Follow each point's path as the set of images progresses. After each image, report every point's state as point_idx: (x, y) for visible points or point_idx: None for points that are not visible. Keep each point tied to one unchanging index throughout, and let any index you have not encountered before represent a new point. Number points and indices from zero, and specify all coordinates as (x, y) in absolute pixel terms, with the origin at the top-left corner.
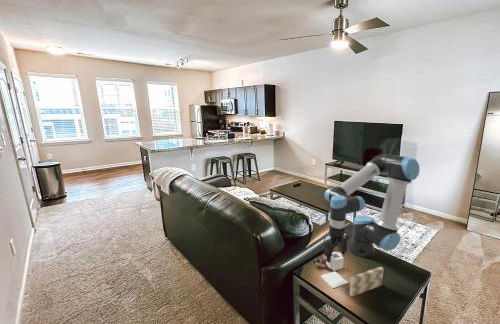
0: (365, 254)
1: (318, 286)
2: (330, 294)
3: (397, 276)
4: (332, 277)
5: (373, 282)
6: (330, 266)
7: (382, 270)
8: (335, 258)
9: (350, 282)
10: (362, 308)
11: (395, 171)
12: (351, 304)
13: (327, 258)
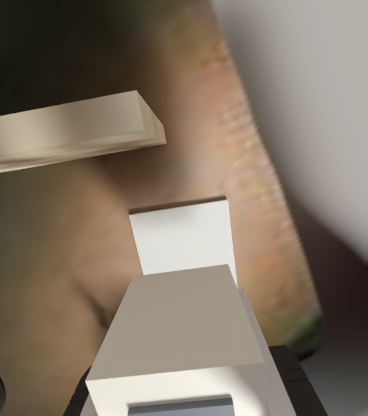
0: None
1: (286, 228)
2: (261, 166)
3: None
4: (186, 264)
5: None
6: (249, 305)
7: None
8: (218, 394)
9: (155, 133)
10: (156, 30)
11: None
12: (197, 73)
13: (319, 414)
